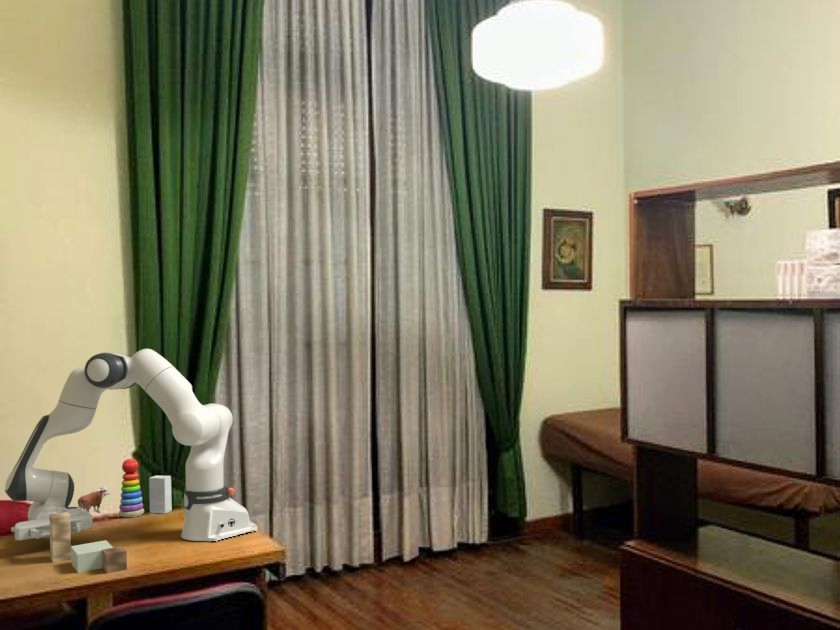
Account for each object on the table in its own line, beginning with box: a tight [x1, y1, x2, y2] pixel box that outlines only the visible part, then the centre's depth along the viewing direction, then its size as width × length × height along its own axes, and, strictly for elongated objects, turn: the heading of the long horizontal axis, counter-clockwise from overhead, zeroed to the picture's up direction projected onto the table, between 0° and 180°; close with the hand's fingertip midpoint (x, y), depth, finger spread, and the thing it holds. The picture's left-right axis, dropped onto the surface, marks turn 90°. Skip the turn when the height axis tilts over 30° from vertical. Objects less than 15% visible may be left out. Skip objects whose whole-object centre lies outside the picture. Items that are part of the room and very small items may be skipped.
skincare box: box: [148, 475, 173, 515], centre depth 261 cm, size 6×4×12 cm
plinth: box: [70, 539, 114, 573], centre depth 206 cm, size 9×9×5 cm
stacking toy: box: [118, 458, 145, 518], centre depth 258 cm, size 8×8×19 cm
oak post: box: [49, 512, 72, 563], centre depth 212 cm, size 4×4×12 cm
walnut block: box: [101, 545, 128, 574], centre depth 203 cm, size 5×5×5 cm
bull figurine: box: [77, 486, 111, 517], centre depth 260 cm, size 4×13×8 cm, turn 161°
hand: (58, 532), depth 215 cm, fingers open, 8 cm apart
